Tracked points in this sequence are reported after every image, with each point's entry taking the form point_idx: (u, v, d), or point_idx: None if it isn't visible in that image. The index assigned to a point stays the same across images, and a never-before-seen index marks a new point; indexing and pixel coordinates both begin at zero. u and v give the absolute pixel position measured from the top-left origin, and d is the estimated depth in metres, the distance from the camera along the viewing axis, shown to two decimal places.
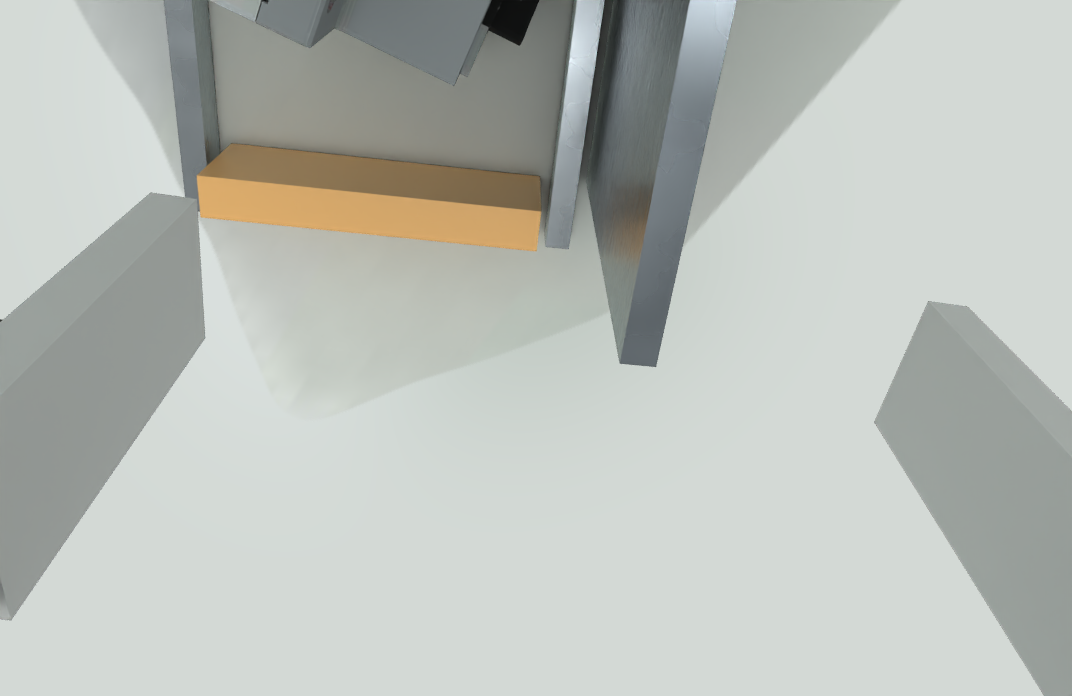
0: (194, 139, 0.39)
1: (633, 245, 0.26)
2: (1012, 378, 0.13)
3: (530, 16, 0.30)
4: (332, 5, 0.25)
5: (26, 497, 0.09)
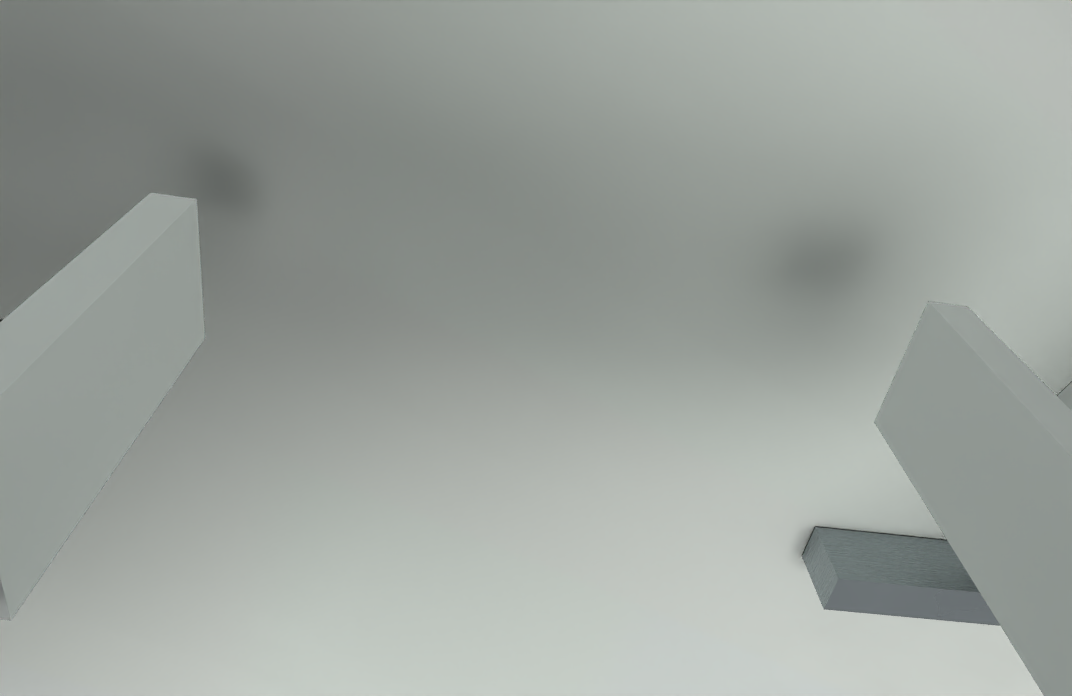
0: None
1: None
2: (1011, 378, 0.13)
3: None
4: None
5: (26, 498, 0.09)
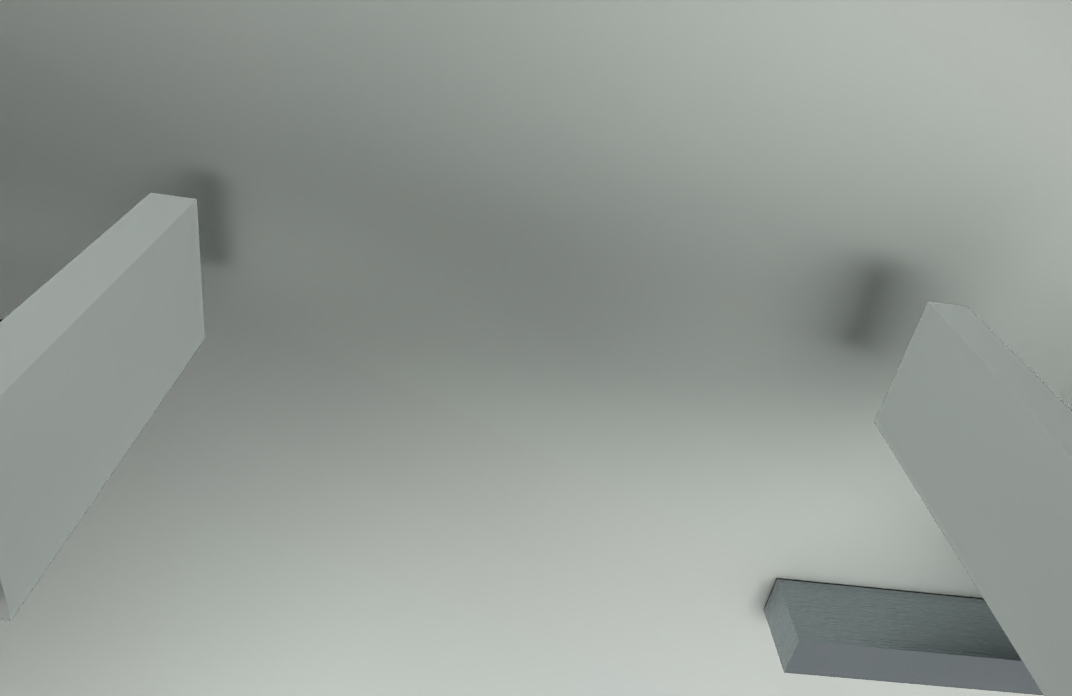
0: None
1: None
2: (1012, 378, 0.13)
3: None
4: None
5: (26, 497, 0.09)
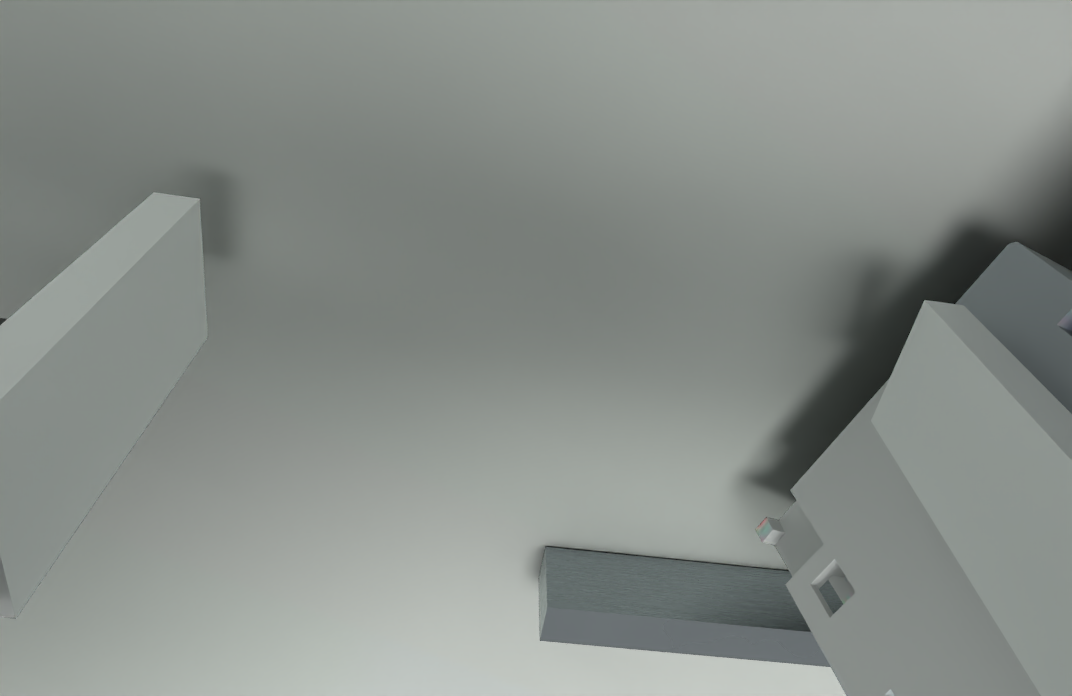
0: None
1: None
2: (1008, 376, 0.13)
3: None
4: None
5: (31, 496, 0.09)
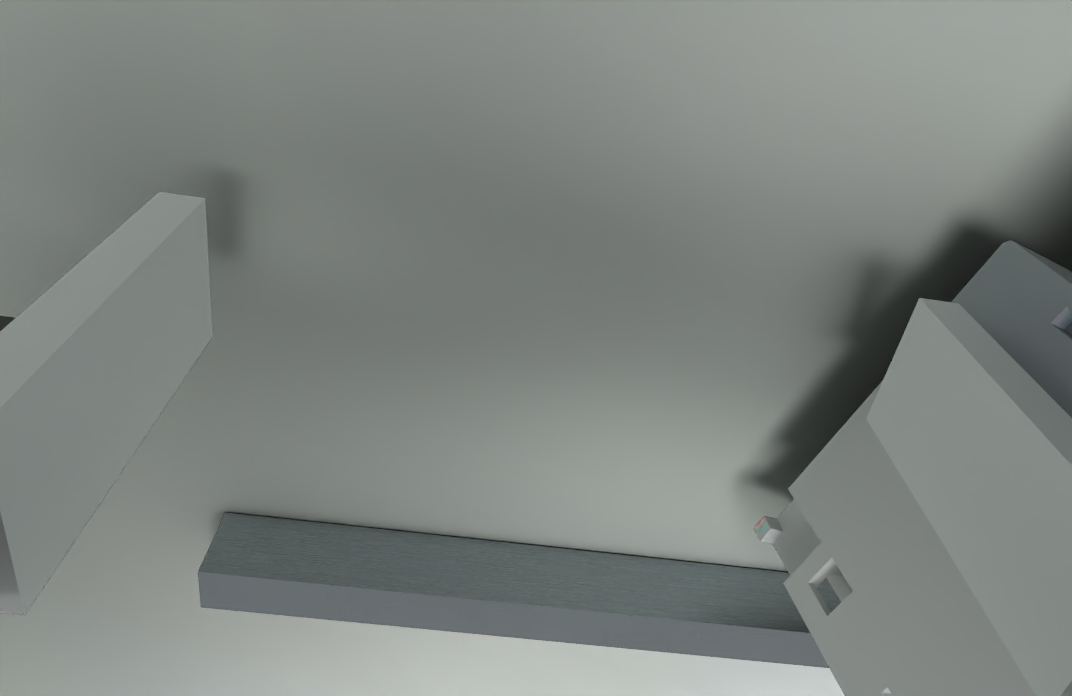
0: None
1: None
2: (1001, 374, 0.13)
3: None
4: None
5: (40, 493, 0.09)
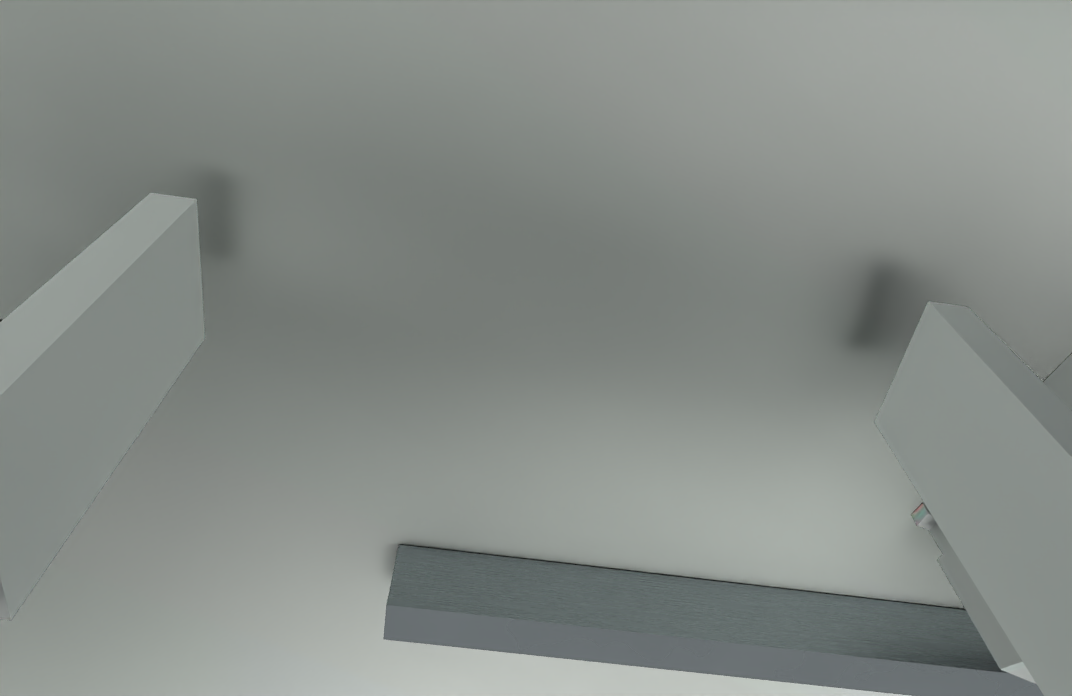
0: None
1: None
2: (1012, 378, 0.13)
3: None
4: None
5: (26, 498, 0.09)
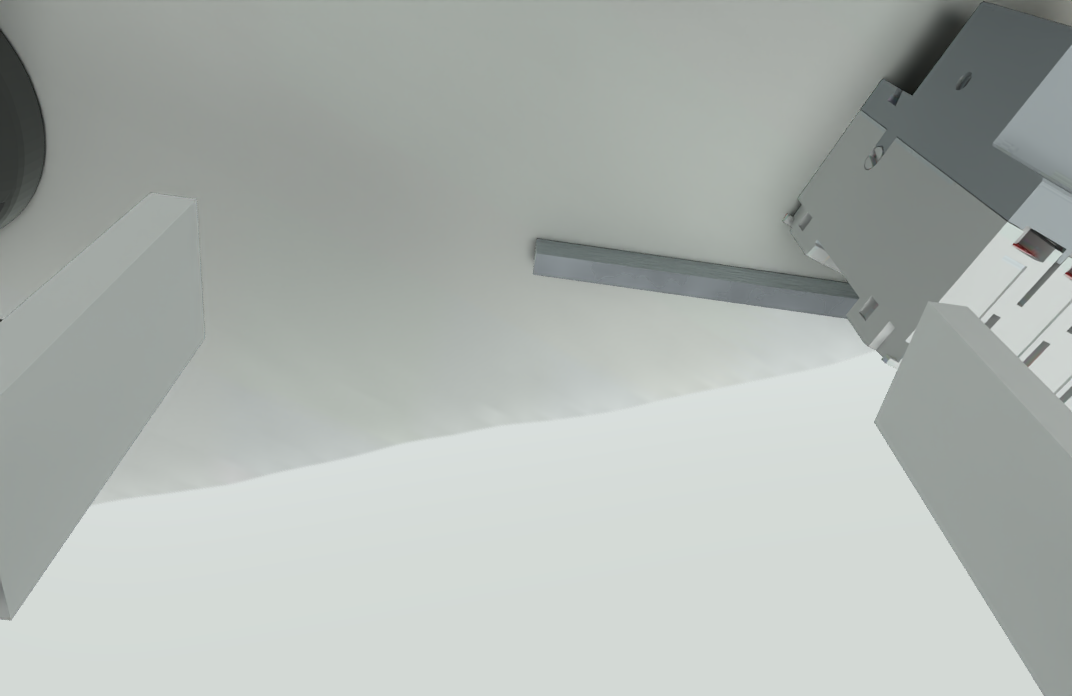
0: None
1: None
2: (1012, 378, 0.13)
3: None
4: None
5: (26, 497, 0.09)
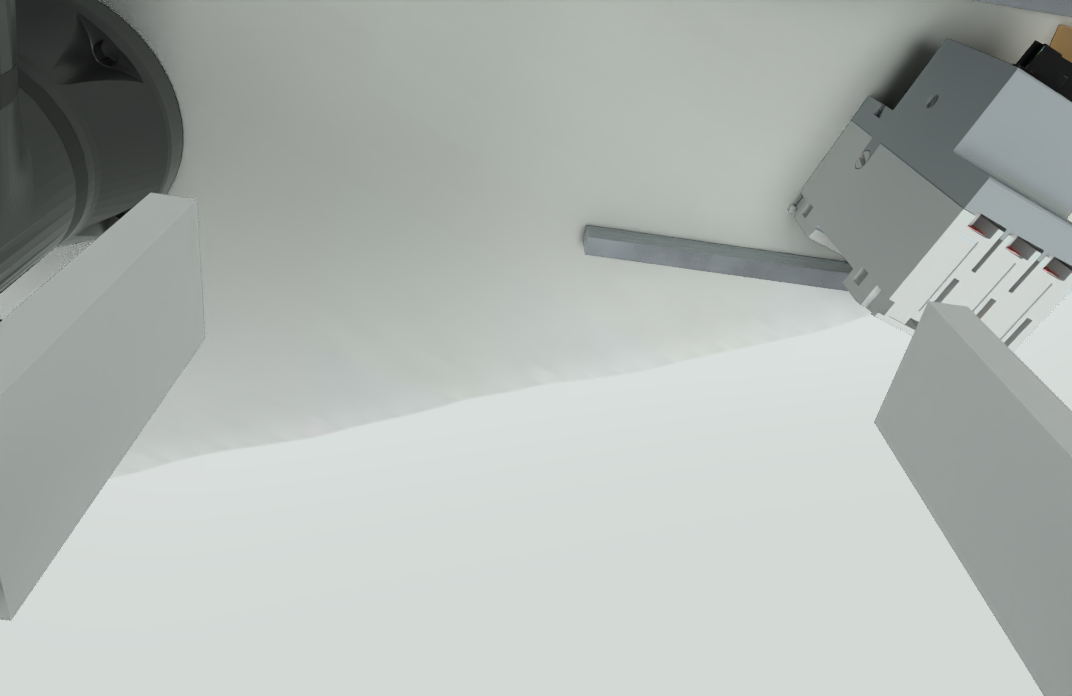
0: None
1: None
2: (1012, 378, 0.13)
3: None
4: None
5: (26, 497, 0.09)
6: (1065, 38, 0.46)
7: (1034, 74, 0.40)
